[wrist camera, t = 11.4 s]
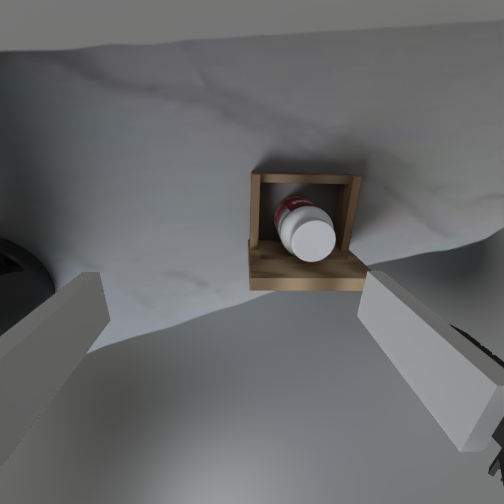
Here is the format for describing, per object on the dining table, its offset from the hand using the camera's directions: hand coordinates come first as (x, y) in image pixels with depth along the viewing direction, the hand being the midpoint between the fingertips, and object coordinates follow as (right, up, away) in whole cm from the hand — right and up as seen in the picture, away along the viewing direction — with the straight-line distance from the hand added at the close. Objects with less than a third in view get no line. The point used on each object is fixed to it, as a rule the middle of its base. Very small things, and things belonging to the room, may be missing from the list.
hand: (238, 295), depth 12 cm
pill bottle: (+7, +7, +24) cm, 26 cm away
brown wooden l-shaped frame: (+7, +8, +23) cm, 25 cm away
